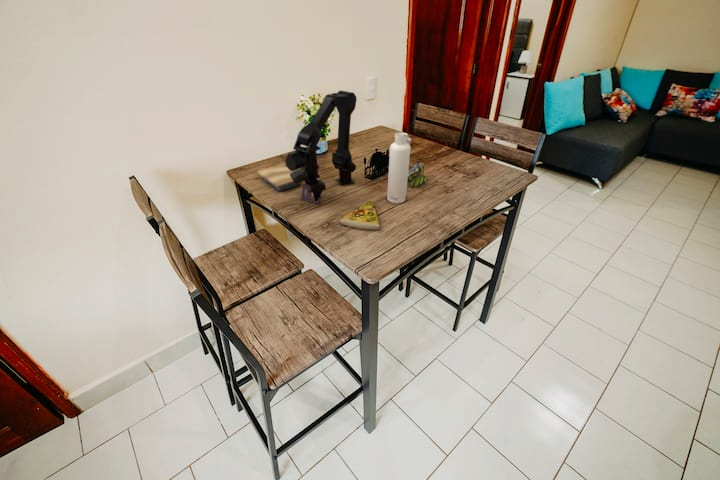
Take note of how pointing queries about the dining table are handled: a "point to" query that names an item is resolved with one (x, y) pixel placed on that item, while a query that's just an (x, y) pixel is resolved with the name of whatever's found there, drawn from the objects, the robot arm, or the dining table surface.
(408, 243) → the dining table surface
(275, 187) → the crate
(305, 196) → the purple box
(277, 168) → the board
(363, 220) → the pizza slice
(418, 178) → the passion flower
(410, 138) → the drinking glass
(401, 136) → the bottle
